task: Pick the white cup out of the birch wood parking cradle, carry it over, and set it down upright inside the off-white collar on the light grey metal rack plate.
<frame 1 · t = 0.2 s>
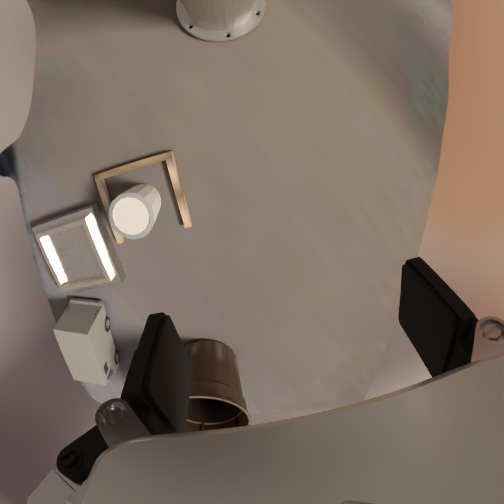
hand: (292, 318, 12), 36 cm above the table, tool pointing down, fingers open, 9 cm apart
parking cradle: (144, 201, 46), on the table
rack plate: (79, 248, 49), on the table
toy vehicle: (97, 330, 58), on the table
plant pot: (208, 358, 62), on the table
white cup: (144, 200, 46), on the table
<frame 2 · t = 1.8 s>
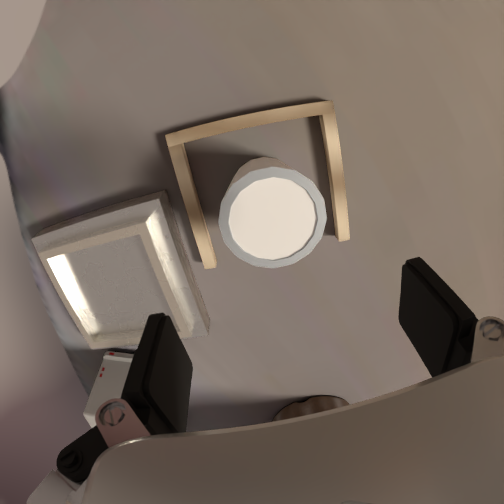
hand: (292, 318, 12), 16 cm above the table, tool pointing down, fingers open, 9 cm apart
parking cradle: (264, 190, 25), on the table
rack plate: (123, 275, 28), on the table
toy vehicle: (147, 391, 38), on the table
plant pot: (312, 415, 41), on the table
white cup: (264, 189, 26), on the table
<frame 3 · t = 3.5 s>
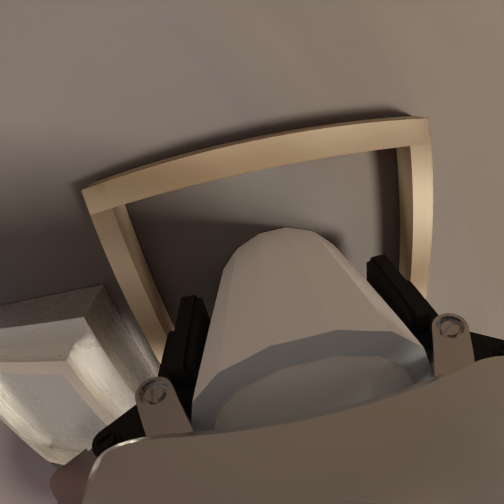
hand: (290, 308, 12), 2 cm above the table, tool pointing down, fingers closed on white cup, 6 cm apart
parking cradle: (285, 287, 13), on the table
rack plate: (69, 387, 16), on the table
white cup: (284, 284, 14), on the table, touching gripper
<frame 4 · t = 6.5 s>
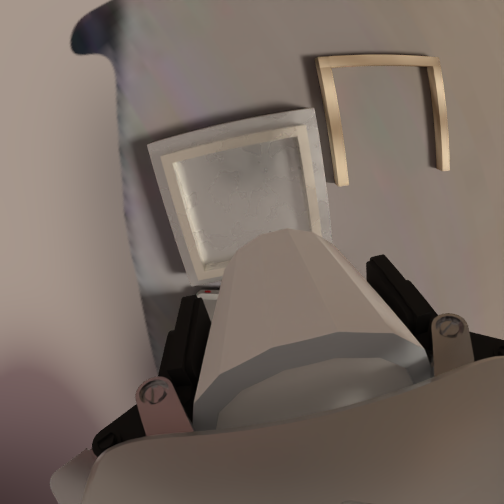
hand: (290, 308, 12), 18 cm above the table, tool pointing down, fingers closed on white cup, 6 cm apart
parking cradle: (389, 120, 25), on the table
rack plate: (246, 195, 28), on the table
toy vehicle: (231, 344, 37), on the table
white cup: (285, 285, 14), point 16 cm above the table, touching gripper
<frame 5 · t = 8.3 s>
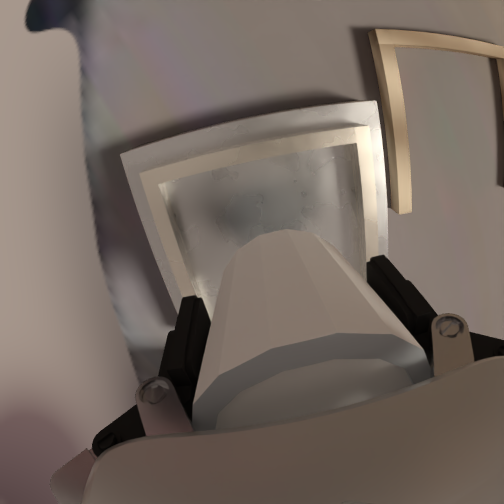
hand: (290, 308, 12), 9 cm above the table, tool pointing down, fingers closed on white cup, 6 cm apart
parking cradle: (459, 124, 17), on the table
rack plate: (269, 225, 20), on the table
white cup: (284, 286, 14), point 7 cm above the table, touching gripper
when the fingers open (5 cm above the table, at t = 9.5 s): white cup drops 1 cm, resting on rack plate.
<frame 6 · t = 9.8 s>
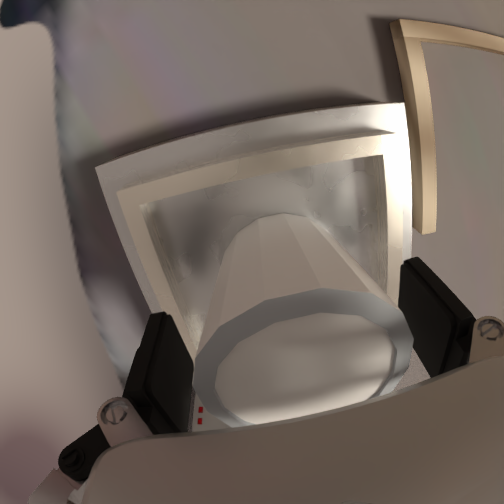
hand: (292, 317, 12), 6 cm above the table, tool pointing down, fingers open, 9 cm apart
parking cradle: (486, 131, 14), on the table
rack plate: (274, 248, 17), on the table
toy vehicle: (245, 427, 26), on the table
white cup: (280, 267, 15), point 2 cm above the table, touching rack plate
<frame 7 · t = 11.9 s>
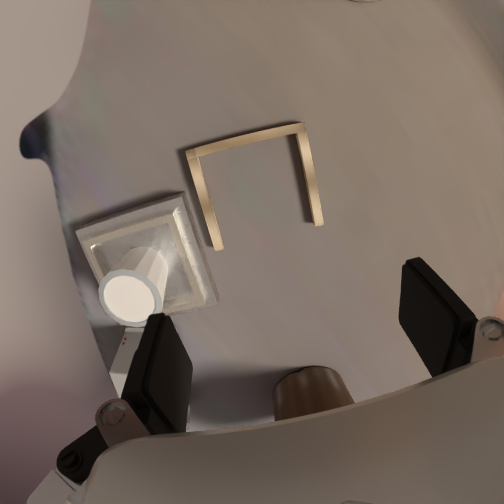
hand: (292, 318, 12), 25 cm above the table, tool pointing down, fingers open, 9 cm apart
parking cradle: (258, 189, 35), on the table
rack plate: (149, 260, 37), on the table
toy vehicle: (161, 364, 45), on the table
plant pot: (308, 388, 49), on the table
white cup: (145, 267, 35), point 2 cm above the table, touching rack plate
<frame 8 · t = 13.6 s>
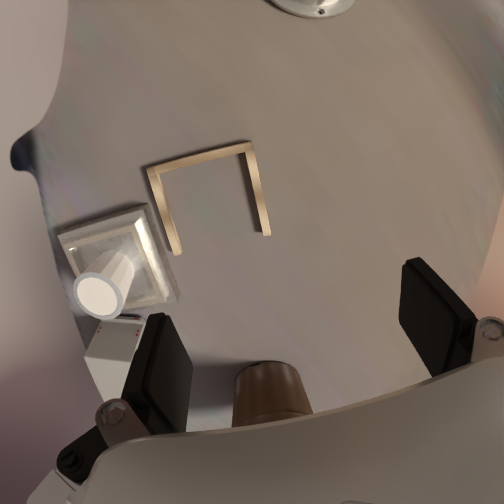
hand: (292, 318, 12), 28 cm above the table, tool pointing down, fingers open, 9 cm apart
parking cradle: (211, 202, 38), on the table
rack plate: (120, 260, 41), on the table
toy vehicle: (134, 351, 50), on the table
plant pot: (268, 380, 54), on the table
white cup: (115, 268, 39), point 2 cm above the table, touching rack plate
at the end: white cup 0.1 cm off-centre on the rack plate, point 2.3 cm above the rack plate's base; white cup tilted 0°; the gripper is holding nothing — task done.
